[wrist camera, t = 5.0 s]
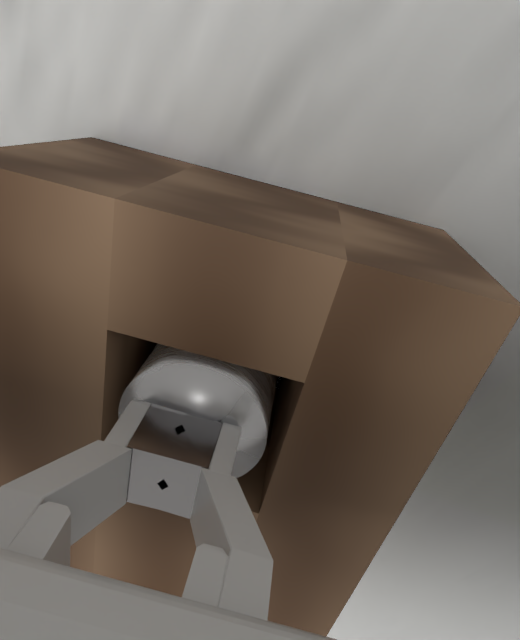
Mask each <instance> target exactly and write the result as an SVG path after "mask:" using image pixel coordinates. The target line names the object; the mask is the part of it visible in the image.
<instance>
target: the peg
mask: <svg viewBox="0 0 520 640" xmlns="http://www.w3.org/2000/svg"><path fill="white" fill-rule="evenodd" d="M277 377H278V376H277V375H273V374H269V373H266V372H262V371H258V370H254V369H251V368H247V367H243V366H240V365H236V364H232V363H229V362H225V361H221V360H217V359H214V358H210V357H206V356H203V355H199V354H195V353H192V352H188V351H184V350H180V349H177V348H173V347H169V346H166V345H162V344H157V345H156V347H155V348H154V350H153V351H152V352H151V354H150V355H149V357H148V358H147V359H146V361H145V362H144V364H143V365H142V367H141V368H140V369H139V371H138V372H137V374H136V375H135V376H134V378H133V379H132V381H131V382H130V383H129V385H128V386H127V388H126V389H125V391H124V393H123V394H122V397H121V400H120V403H119V409H118V418H120V416H121V414H122V413H123V411H124V410H125V408H126V407H127V405H128V404H129V402H130V401H131V400H133V399H134V398H135V399H138V400H142V401H145V402H148V403H152V404H157V405H160V406H164V407H167V408H170V409H174V410H177V411H181V412H184V413H188V414H192V415H196V416H199V417H203V418H207V419H211V420H215V421H219V422H222V423H227V424H231V425H235V426H239V427H241V428H242V431H241V435H240V439H239V444H238V448H237V452H236V456H235V460H234V464H233V468H232V472H231V476H234V477H236V478H238V477H241V476H242V475H244V474H246V473H247V472H249V471H250V470H251V469H252V468H253V467H254V466H255V465H256V464H257V463H258V462H259V460H260V459H261V457H262V455H263V453H264V450H265V447H266V442H267V436H268V430H269V424H270V418H271V412H272V406H273V400H274V394H275V388H276V382H277Z"/></svg>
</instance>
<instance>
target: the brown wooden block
mask: <svg viewBox="0 0 520 640" xmlns="http://www.w3.org/2000/svg"><path fill="white" fill-rule="evenodd" d="M519 316H520V303H519V302H518V301H517V300H516V299H515V298H514V297H513V296H512V295H511V294H510V293H509V292H508V291H507V290H506V289H505V288H504V287H503V286H502V285H501V284H500V283H498V282H497V281H496V280H495V279H494V278H493V277H492V276H491V275H490V274H489V273H488V272H487V271H486V270H485V269H484V268H483V267H482V266H481V265H480V264H479V263H478V262H477V261H476V260H474V259H473V258H472V257H471V256H470V255H469V254H468V253H467V252H466V251H465V250H464V249H463V248H462V247H461V246H460V245H459V244H458V243H457V242H456V241H455V240H454V239H453V238H451V237H450V236H449V235H448V234H447V233H446V232H445V231H444V230H441V229H437V228H434V227H430V226H426V225H422V224H418V223H415V222H411V221H407V220H403V219H399V218H396V217H392V216H388V215H384V214H380V213H377V212H373V211H369V210H365V209H361V208H358V207H354V206H350V205H346V204H342V203H339V202H335V201H331V200H327V199H323V198H320V197H316V196H312V195H308V194H304V193H301V192H297V191H293V190H289V189H285V188H282V187H278V186H274V185H270V184H266V183H263V182H259V181H255V180H251V179H247V178H244V177H240V176H236V175H232V174H228V173H225V172H221V171H217V170H213V169H209V168H206V167H202V166H198V165H194V164H190V163H187V162H183V161H179V160H175V159H171V158H168V157H164V156H160V155H156V154H152V153H149V152H145V151H141V150H137V149H133V148H130V147H126V146H122V145H118V144H115V143H111V142H107V141H103V140H99V139H96V138H92V137H90V138H81V139H71V140H62V141H52V142H43V143H33V144H24V145H14V146H5V147H0V487H1V486H3V485H5V484H7V483H9V482H11V481H13V480H15V479H17V478H19V477H21V476H24V475H26V474H28V473H30V472H32V471H34V470H36V469H38V468H40V467H42V466H44V465H47V464H49V463H51V462H53V461H55V460H57V459H59V458H61V457H63V456H65V455H67V454H70V453H72V452H74V451H76V450H78V449H80V448H82V447H84V446H86V445H88V444H90V443H93V442H95V441H97V440H101V441H104V440H105V439H106V437H107V436H108V434H109V433H110V431H111V430H112V428H113V427H114V425H115V424H116V422H117V421H118V419H119V418H118V409H119V403H120V400H121V397H122V394H123V393H124V391H125V389H126V388H127V386H128V385H129V383H130V382H131V381H132V379H133V378H134V376H135V375H136V374H137V372H138V371H139V369H140V368H141V367H142V365H143V364H144V362H145V361H146V359H147V358H148V357H149V355H150V354H151V352H152V351H153V350H154V348H155V347H156V345H157V344H162V345H166V346H169V347H173V348H177V349H180V350H184V351H188V352H192V353H195V354H199V355H203V356H206V357H210V358H214V359H217V360H221V361H225V362H229V363H232V364H236V365H240V366H243V367H247V368H251V369H254V370H258V371H262V372H266V373H269V374H273V375H277V376H280V377H282V380H281V383H280V386H279V389H276V388H275V394H274V400H273V406H272V412H271V418H270V424H269V430H268V436H267V442H266V447H265V450H264V453H263V455H262V457H261V459H260V460H259V462H258V463H257V464H256V465H255V466H254V467H253V468H252V469H251V470H250V471H249V472H247V473H246V474H244V475H242V476H241V477H238V478H237V480H238V482H239V484H240V487H241V489H242V491H243V493H244V496H245V498H246V500H247V502H248V505H249V507H250V509H251V511H252V514H253V516H254V518H255V520H256V523H257V525H258V527H259V529H260V532H261V534H262V536H263V538H264V541H265V543H266V545H267V547H268V550H269V552H270V554H271V556H272V559H273V571H272V580H271V590H270V600H269V610H268V620H267V621H270V622H274V623H278V624H281V625H285V626H289V627H292V628H296V629H300V630H303V631H307V632H311V633H314V634H318V635H322V636H325V637H326V636H327V634H328V633H329V631H330V629H331V628H332V626H333V624H334V623H335V621H336V619H337V618H338V616H339V614H340V613H341V611H342V609H343V608H344V606H345V604H346V603H347V601H348V599H349V598H350V596H351V594H352V593H353V591H354V589H355V588H356V586H357V584H358V583H359V581H360V579H361V578H362V576H363V574H364V573H365V571H366V569H367V568H368V566H369V565H370V563H371V561H372V560H373V558H374V556H375V555H376V553H377V551H378V550H379V548H380V546H381V545H382V543H383V541H384V540H385V538H386V536H387V535H388V533H389V531H390V530H391V528H392V526H393V525H394V523H395V521H396V520H397V518H398V516H399V515H400V513H401V511H402V510H403V508H404V506H405V505H406V503H407V501H408V500H409V498H410V496H411V495H412V493H413V492H414V490H415V488H416V487H417V485H418V483H419V482H420V480H421V478H422V477H423V475H424V473H425V472H426V470H427V468H428V467H429V465H430V463H431V462H432V460H433V458H434V457H435V455H436V453H437V452H438V450H439V448H440V447H441V445H442V443H443V442H444V440H445V438H446V437H447V435H448V433H449V432H450V430H451V428H452V427H453V425H454V423H455V422H456V420H457V419H458V417H459V415H460V414H461V412H462V410H463V409H464V407H465V405H466V404H467V402H468V400H469V399H470V397H471V395H472V394H473V392H474V390H475V389H476V387H477V385H478V384H479V382H480V380H481V379H482V377H483V375H484V374H485V372H486V370H487V369H488V367H489V365H490V364H491V362H492V360H493V359H494V357H495V355H496V354H497V352H498V350H499V349H500V347H501V346H502V344H503V342H504V341H505V339H506V337H507V336H508V334H509V332H510V331H511V329H512V327H513V326H514V324H515V322H516V321H517V319H518V317H519ZM195 552H196V544H195V540H194V536H193V531H192V527H191V523H190V519H188V518H185V517H182V516H178V515H175V514H172V513H168V512H165V511H162V510H159V509H154V508H150V507H146V506H142V505H138V504H134V503H129V502H126V504H125V505H124V506H122V507H121V508H120V509H118V510H117V511H116V512H115V513H113V514H112V515H111V516H109V517H108V518H107V519H105V520H104V521H103V522H101V523H100V524H99V525H97V526H96V527H95V528H94V529H92V530H91V531H90V532H88V533H87V534H86V535H84V536H83V537H82V538H80V539H79V540H78V541H76V542H75V543H74V544H73V545H71V546H70V567H72V568H76V569H80V570H83V571H87V572H91V573H94V574H98V575H102V576H105V577H109V578H113V579H116V580H120V581H123V582H127V583H131V584H134V585H138V586H142V587H145V588H149V589H153V590H157V591H160V592H164V593H168V594H171V595H175V596H179V597H182V595H183V591H184V588H185V585H186V581H187V578H188V575H189V571H190V568H191V565H192V562H193V558H194V555H195Z"/></svg>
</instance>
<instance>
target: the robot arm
mask: <svg viewBox="0 0 520 640" xmlns="http://www.w3.org/2000/svg"><path fill="white" fill-rule="evenodd" d="M241 431H242V428H241V427H239V426H235V425H231V424H227V423H222V422H219V421H215V420H211V419H207V418H203V417H199V416H196V415H192V414H188V413H184V412H181V411H177V410H174V409H170V408H167V407H164V406H160V405H157V404H152V403H148V402H145V401H142V400H138V399H135V398H134V399H133V400H131V401H130V402H129V404H128V405H127V407H126V408H125V410H124V411H123V413H122V414H121V416H120V418H119V419H118V421H117V422H116V424H115V425H114V427H113V428H112V430H111V431H110V433H109V434H108V436H107V437H106V439H105V440H104V441H101V440H97V441H95V442H93V443H90V444H88V445H86V446H84V447H82V448H80V449H78V450H76V451H74V452H72V453H70V454H67V455H65V456H63V457H61V458H59V459H57V460H55V461H53V462H51V463H49V464H47V465H44V466H42V467H40V468H38V469H36V470H34V471H32V472H30V473H28V474H26V475H24V476H21V477H19V478H17V479H15V480H13V481H11V482H9V483H7V484H5V485H3V486H1V487H0V640H336V639H333V638H329V637H325V636H322V635H318V634H314V633H311V632H307V631H303V630H300V629H296V628H292V627H289V626H285V625H281V624H278V623H274V622H270V621H267V620H268V610H269V600H270V590H271V580H272V571H273V559H272V556H271V554H270V552H269V550H268V547H267V545H266V543H265V541H264V538H263V536H262V534H261V532H260V529H259V527H258V525H257V523H256V520H255V518H254V516H253V514H252V511H251V509H250V507H249V505H248V502H247V500H246V498H245V496H244V493H243V491H242V489H241V487H240V484H239V482H238V480H237V478H236V477H234V476H231V472H232V468H233V464H234V460H235V456H236V452H237V448H238V444H239V439H240V435H241ZM126 502H129V503H134V504H138V505H142V506H146V507H150V508H154V509H159V510H162V511H165V512H168V513H172V514H175V515H178V516H182V517H185V518H188V519H190V523H191V527H192V531H193V536H194V540H195V544H196V552H195V555H194V558H193V562H192V565H191V568H190V571H189V575H188V578H187V581H186V585H185V588H184V591H183V595H182V597H179V596H175V595H171V594H168V593H164V592H160V591H157V590H153V589H149V588H145V587H142V586H138V585H134V584H131V583H127V582H123V581H120V580H116V579H113V578H109V577H105V576H102V575H98V574H94V573H91V572H87V571H83V570H80V569H76V568H72V567H70V546H71V545H73V544H74V543H75V542H76V541H78V540H79V539H80V538H82V537H83V536H84V535H86V534H87V533H88V532H90V531H91V530H92V529H94V528H95V527H96V526H97V525H99V524H100V523H101V522H103V521H104V520H105V519H107V518H108V517H109V516H111V515H112V514H113V513H115V512H116V511H117V510H118V509H120V508H121V507H122V506H124V505H125V504H126Z"/></svg>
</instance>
